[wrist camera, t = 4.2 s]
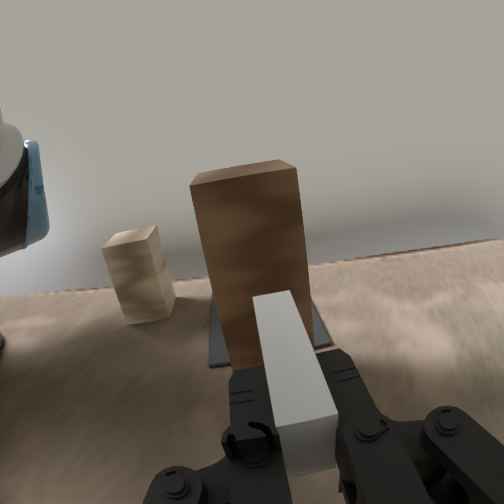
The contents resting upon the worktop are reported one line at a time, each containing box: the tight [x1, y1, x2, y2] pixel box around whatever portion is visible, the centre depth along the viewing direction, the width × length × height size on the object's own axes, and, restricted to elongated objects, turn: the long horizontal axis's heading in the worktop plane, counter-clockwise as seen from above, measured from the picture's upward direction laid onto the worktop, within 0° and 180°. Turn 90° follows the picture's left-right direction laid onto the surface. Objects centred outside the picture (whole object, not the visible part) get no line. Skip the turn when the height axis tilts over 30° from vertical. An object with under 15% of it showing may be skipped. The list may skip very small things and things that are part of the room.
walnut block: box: [190, 160, 315, 372], centre depth 20 cm, size 5×5×15 cm
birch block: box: [102, 225, 176, 325], centre depth 34 cm, size 5×5×9 cm
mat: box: [209, 292, 331, 368], centre depth 31 cm, size 10×13×1 cm
